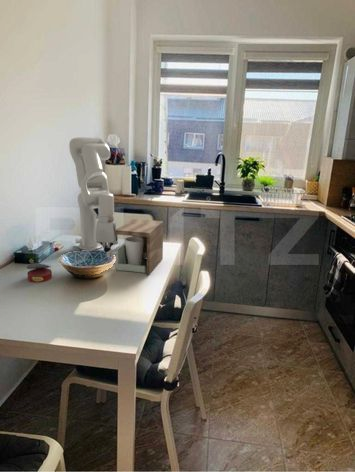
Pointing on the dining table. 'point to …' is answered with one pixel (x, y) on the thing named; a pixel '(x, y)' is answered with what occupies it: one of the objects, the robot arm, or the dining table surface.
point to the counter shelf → (146, 239)
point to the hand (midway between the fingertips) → (107, 254)
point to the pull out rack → (124, 259)
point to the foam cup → (134, 250)
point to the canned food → (39, 272)
